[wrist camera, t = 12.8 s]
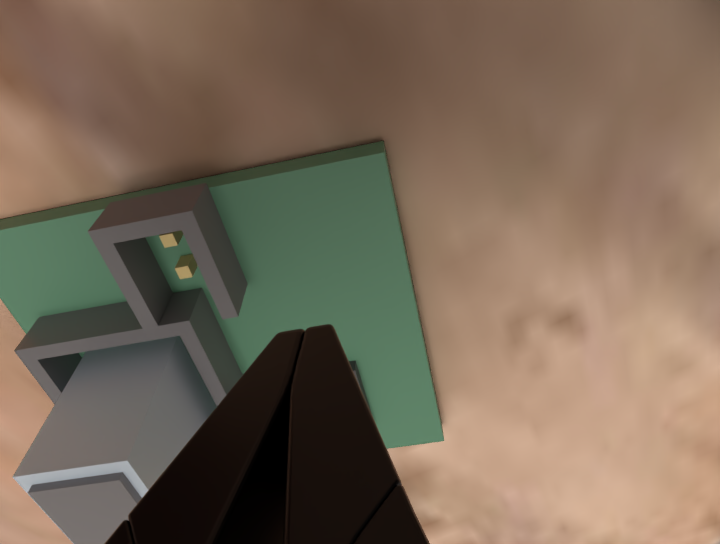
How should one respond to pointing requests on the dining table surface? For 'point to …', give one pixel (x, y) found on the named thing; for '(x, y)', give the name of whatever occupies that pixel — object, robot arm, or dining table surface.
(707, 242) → the dining table surface
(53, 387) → the grey square frame
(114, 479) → the plug
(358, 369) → the board
